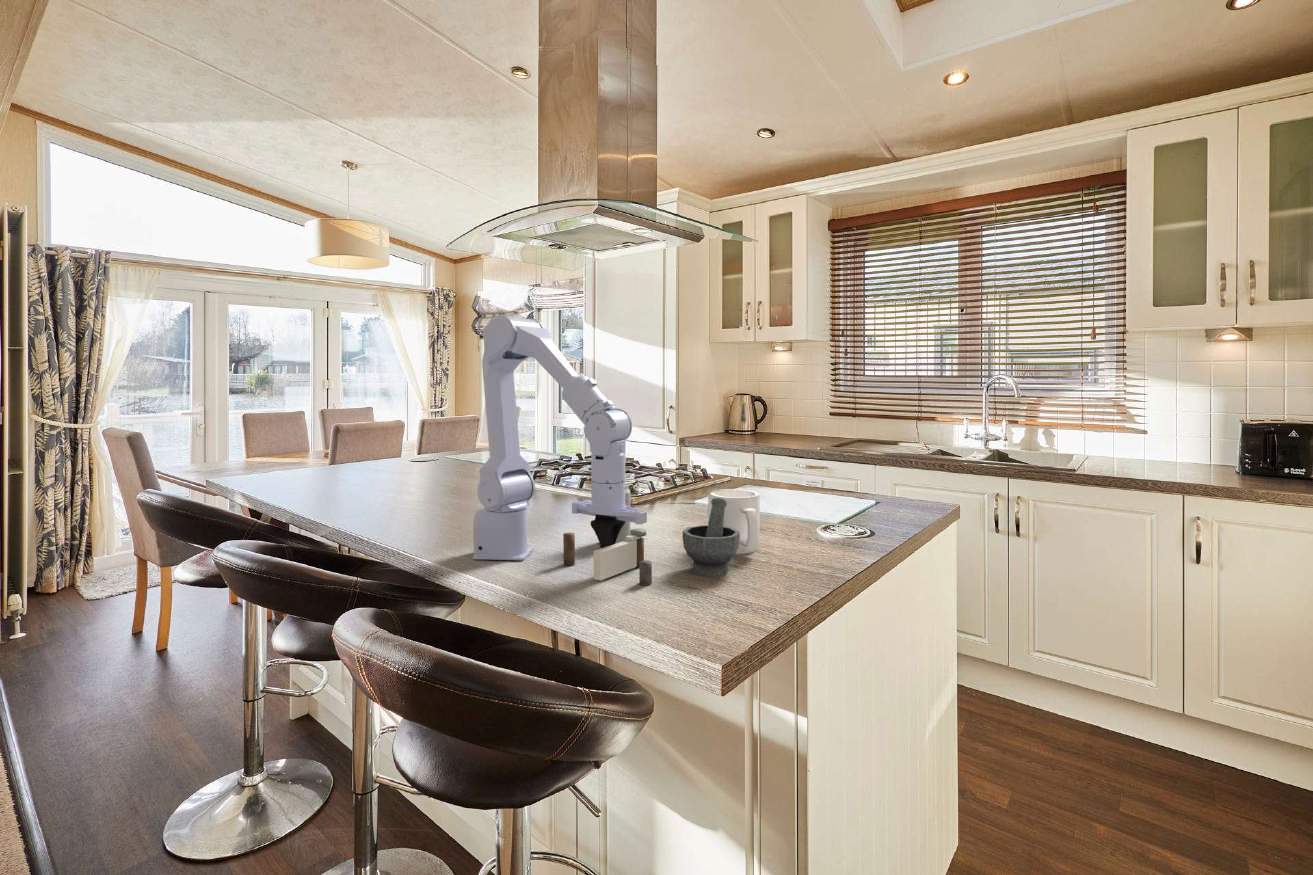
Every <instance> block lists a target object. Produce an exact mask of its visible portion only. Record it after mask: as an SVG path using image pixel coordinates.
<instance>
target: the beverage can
mask: <svg viewBox="0 0 1313 875" xmlns="http://www.w3.org/2000/svg"><path fill="white" fill-rule="evenodd" d="M629 486H630V485H629V484H628V483H625V504H626V506H629V507H631V490H630V489H629ZM631 529H632V528H631V522H628V521H625V524H624V525H623V527H622V529H621V531H620V533H619V535H618V537H617V540H616V543H615V544H617V543H620V542H623V541H626V536H628V535H630V530H631Z"/></svg>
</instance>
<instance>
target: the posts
mask: <svg viewBox="0 0 1313 875" xmlns="http://www.w3.org/2000/svg"><path fill="white" fill-rule="evenodd" d="M562 536H563V538H562V540H563V548H562V549H563V550H562V551H563V553H562V554H563V565H564V566H565V567H567V566H568V567H570V566H571V567H572V566H575V564H576V555H575V554H576V552H575V550H576V548H575V546H576V541H575V540H576V539H575V537H576V535H575V533H574V532H565V533H563V535H562ZM652 566H653V562H652V561H651V560H645V538H644V537H642V538H640V539H637V567H636V568H639V574H638V575H639V585H641V586H650V585H652V584H653V582H652V581H653V578H652V577H653V576H652V575H653V574H652V572H653V571H652V570H653V569H652V568H653V567H652Z"/></svg>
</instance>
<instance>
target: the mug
mask: <svg viewBox="0 0 1313 875" xmlns="http://www.w3.org/2000/svg"><path fill="white" fill-rule="evenodd" d="M707 493H708V494H707V523H708V522H709V518H710V513H711V509H712V503H711V501H712V499H714V498H721V499H724V500H726V502H727V506H726V507H725V512H724V524H723V526H724V527H730V528H734V529H735V530H737V531H739V532H740V540H739V545H738V549H737V551H736V553H735V555H739V554H750V553H754V552H757V551H758V550H760V528H761V526H760V524H761V519H760V518H761V493H759V492H757V491H753V490H748V489H737V488H735V489H734V488H725V489H715V490H711V491H708V492H707Z"/></svg>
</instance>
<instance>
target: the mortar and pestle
mask: <svg viewBox="0 0 1313 875" xmlns="http://www.w3.org/2000/svg"><path fill="white" fill-rule="evenodd" d="M711 503H712V509H711V513H710V518H709V522H708V521H707V524H701V525H694V526H688V527H686V528H685V529H684V530H682V544H683V548H684V550H685V552H686V554H687V556H688V557H689V558H690V559H691V560H692V561H693V564H692V570H693V572H694V573H695V574H699V575H701V576H712V577H713V576H714V577H715V576H718V577H719V576H721V575H726V574H727V573H728V572H729V563H728V562H730V560H732V559H733V557H734V556H735V555H736V554H735V553H736V551H737V549H738V545H739V540H740V532H739V531H737V530H735V529H734V528H730V527H724V526H723V524H724V512H725V507H726V506H727V502H726V500H724V499H721V498H714V499H712V501H711Z"/></svg>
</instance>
